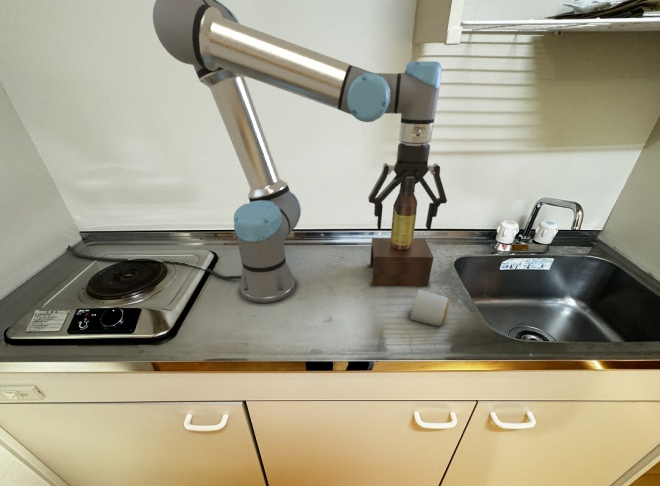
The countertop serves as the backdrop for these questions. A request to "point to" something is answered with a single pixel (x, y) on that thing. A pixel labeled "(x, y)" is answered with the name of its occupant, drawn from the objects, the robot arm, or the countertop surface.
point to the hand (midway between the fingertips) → (403, 227)
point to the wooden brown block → (400, 263)
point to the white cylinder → (430, 308)
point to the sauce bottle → (404, 215)
